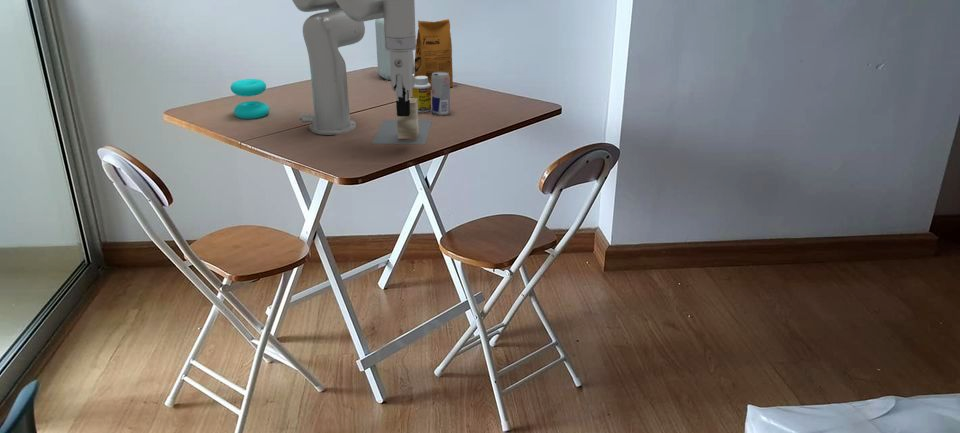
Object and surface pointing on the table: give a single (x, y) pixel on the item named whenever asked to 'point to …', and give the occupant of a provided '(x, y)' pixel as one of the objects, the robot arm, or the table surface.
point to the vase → (382, 51)
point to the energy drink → (440, 93)
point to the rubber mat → (390, 133)
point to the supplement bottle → (422, 93)
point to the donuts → (251, 107)
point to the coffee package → (433, 49)
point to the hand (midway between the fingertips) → (403, 115)
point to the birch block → (409, 123)
